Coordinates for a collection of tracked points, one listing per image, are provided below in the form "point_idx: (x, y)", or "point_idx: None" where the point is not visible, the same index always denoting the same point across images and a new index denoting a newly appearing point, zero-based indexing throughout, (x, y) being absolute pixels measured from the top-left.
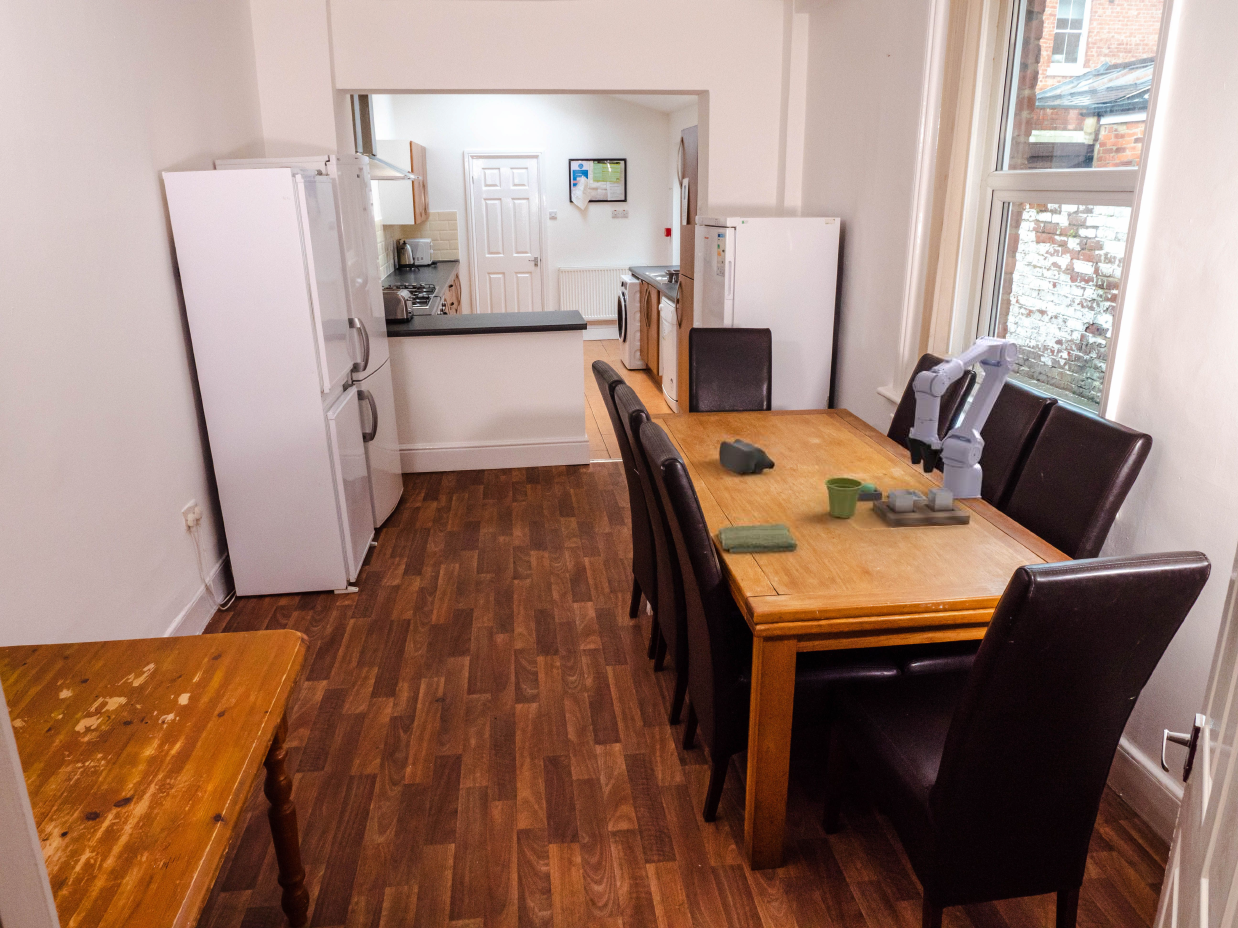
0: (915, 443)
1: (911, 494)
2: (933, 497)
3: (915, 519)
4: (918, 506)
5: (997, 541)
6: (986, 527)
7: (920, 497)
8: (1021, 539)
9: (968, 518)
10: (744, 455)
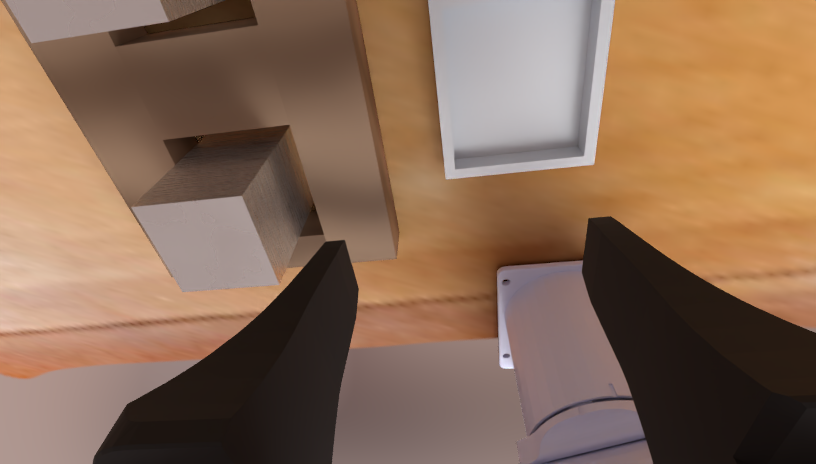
0: (696, 417)
1: (21, 20)
2: (183, 184)
3: None
4: (236, 85)
5: (40, 281)
6: (180, 292)
7: (504, 158)
8: (100, 342)
9: None
10: None
